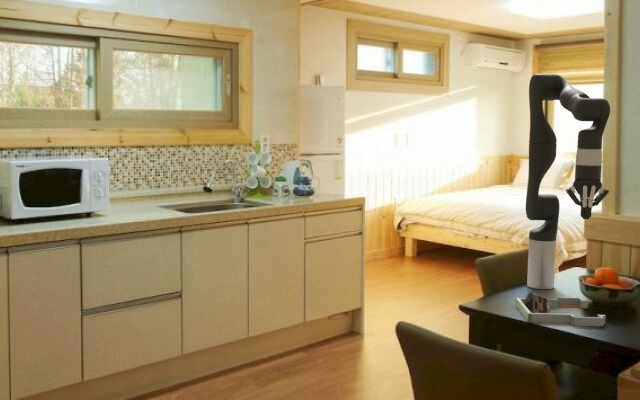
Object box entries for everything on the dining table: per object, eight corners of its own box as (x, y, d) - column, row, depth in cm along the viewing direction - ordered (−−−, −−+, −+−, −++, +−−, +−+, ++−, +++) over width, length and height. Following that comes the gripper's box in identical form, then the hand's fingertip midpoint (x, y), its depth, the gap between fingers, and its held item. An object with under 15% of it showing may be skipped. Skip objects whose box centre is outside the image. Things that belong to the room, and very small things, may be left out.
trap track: (514, 303, 220) (514, 296, 219) (584, 305, 218) (584, 297, 217) (529, 324, 197) (530, 315, 197) (607, 326, 195) (608, 318, 195)
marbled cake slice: (555, 323, 200) (557, 289, 207) (532, 316, 200) (535, 282, 207) (542, 336, 208) (544, 303, 215) (520, 329, 208) (523, 296, 215)
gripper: (606, 162, 212) (603, 217, 214) (563, 162, 213) (560, 216, 216) (614, 164, 205) (611, 221, 207) (570, 164, 206) (567, 220, 208)
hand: (585, 218), depth 211 cm, fingers closed
